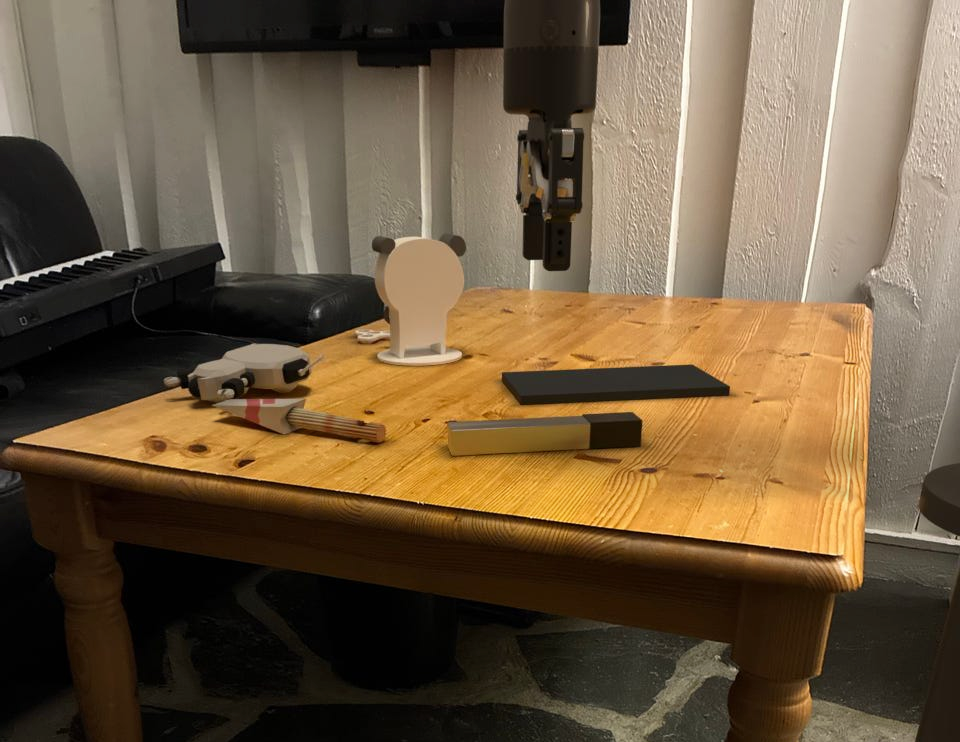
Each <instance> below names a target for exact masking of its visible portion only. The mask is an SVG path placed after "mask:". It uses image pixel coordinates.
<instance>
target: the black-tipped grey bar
mask: <svg viewBox="0 0 960 742" xmlns="http://www.w3.org/2000/svg"><path fill="white" fill-rule="evenodd" d="M446 425H447V426H446V429H447V430H446V432H447V433H446V435H447V448H448V450H449V453H450V454H451V457H458V456H459V457H460V456H477V455H480V456H481V455H495V454H496V455H497V454H498V455H499V454H513V453H516V454H517V453H533V452H534V453H535V452H553V451H568V450H569V451H572V450H588V449H589V450H591V449H592V450H596V449H615V448H634V447H641V445H642V433H643V419H641V417H639V416H638V415H637V414H636V413H634V412H633V411H621V412H602V413H600V412H599V413H583V414H582V415H564V416H549V417H548V416H545V417H544V416H543V417H526V418H523V417H522V418H504V419H483V420H480V419H479V420H463V421H462V420H461V421H460V420H459V421H447V423H446Z"/></svg>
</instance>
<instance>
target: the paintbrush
mask: <svg viewBox="0 0 960 742" xmlns="http://www.w3.org/2000/svg"><path fill="white" fill-rule="evenodd" d="M306 401H307V398H238V399H229V400H226V401H223V402H220V403H214V404H211V406H212V407H215V408H217V409H220V410H222V411H225V412H227V413H230V414H232V415H235V416H237V417H240V418H242V419H244V420H247V421H249V422H252V423H254V424H256V425H259V426H262V427H264V428H266V429H269V430H271V431H274V432H277V433H280V434H282V435H287V434H289V433H292V432H294V431H297V430H299V429H302V428H303V429H308V430H313V431H319V432H323V433H329V434H333V435H339V436H342V437H348V438H352V439H353V438H354V439H359V438H361V439H364V440H365V441H369V442H372V443H378V444H379V443H382V442H383V441H385V439H386V436H387V427H386V425H385V424H383V423H380V422H379V423H378V422H373V421H370V422H365V420H361V419H358V418H351V417H346V416H342V415H337V414H331V413H327V412H322V411H317V410H312V409H311V410H310V409H306V408H305V404H306Z"/></svg>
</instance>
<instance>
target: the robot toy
mask: <svg viewBox="0 0 960 742" xmlns="http://www.w3.org/2000/svg"><path fill="white" fill-rule="evenodd" d="M324 359H325V355H323V354H321V355H319V356H318V357H317V358H316V359H315V360H314V361H312V362H311V359H310V356H309V354H308V353H307V352H305V351H304V350H303V349H301V348H298V347H295V346H291V345H286V344H285V345H284V344H276V343H251V344H248V345H245V346H242V347H237V348H235V349H232V350H229V351H225V353H224V355H223V356H222V358H221V359H216V360H211V361H207V362H204V363H200V364H197V366H196V368H195V369H194V368H189V369H184V370H178V371H177V372H176V373H177V376H169V377H165V378H164V379H163V383H164V385H165V386H166V387H168V388H173V387H174V388H176V387H177V386H180V388H181V390H187V389H188V392H189V394H190V395H191V397H192V398H193V399H194V398H195V399H201V401H209V402H211V403H214V404H217V403H220V402H223V401H226V400H229V399H240V398H241V397H242V396H243V395H245V394H246V393H248V390H249V389H250V388H253V389H265V390H273V391H275V392H278V393H283V394H285V393H290V392H292V391H293V390H294V389H295V388H296V387H297V386H298V385H299V383H302V382H305V381H307V380H308V379H309V378H310V376H311V374H312V367H314V366H315V365H316V364H318V363H319V362H321V361H324Z"/></svg>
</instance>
